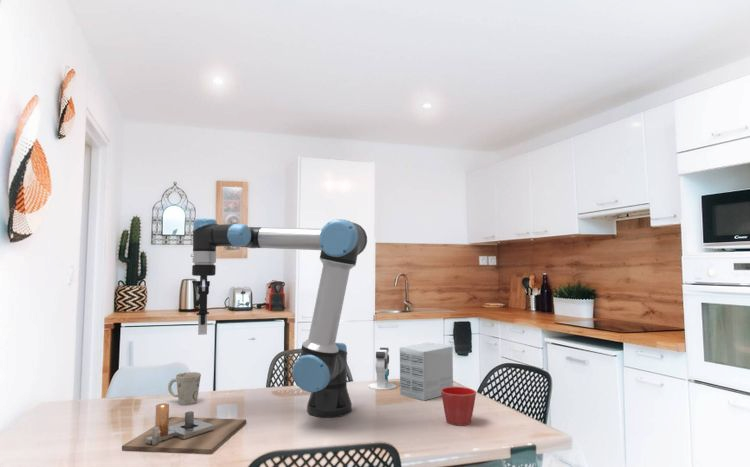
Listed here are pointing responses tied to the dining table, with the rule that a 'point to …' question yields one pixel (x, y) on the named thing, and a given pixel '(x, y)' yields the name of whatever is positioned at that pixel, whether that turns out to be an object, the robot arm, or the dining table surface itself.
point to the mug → (186, 387)
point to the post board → (194, 444)
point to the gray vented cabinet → (425, 370)
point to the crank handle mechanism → (175, 426)
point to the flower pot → (458, 404)
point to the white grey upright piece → (382, 371)
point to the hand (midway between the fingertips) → (202, 334)
